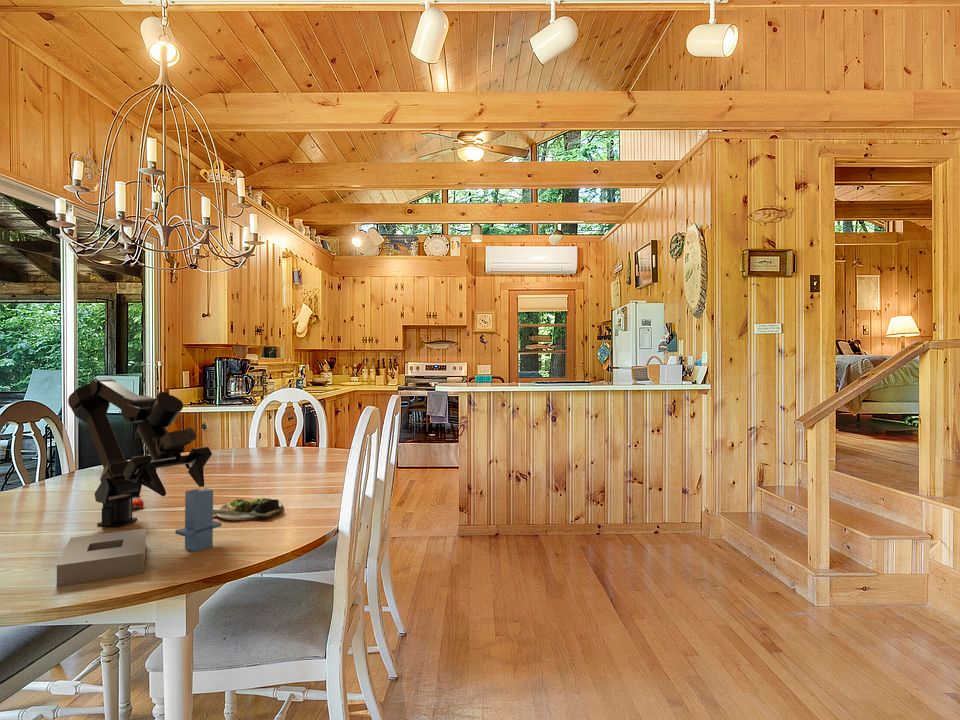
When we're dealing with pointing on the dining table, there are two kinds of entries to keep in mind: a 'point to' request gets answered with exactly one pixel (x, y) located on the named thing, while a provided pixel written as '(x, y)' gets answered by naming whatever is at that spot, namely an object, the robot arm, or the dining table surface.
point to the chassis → (102, 557)
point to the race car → (137, 503)
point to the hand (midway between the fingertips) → (184, 491)
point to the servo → (198, 519)
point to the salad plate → (249, 509)
